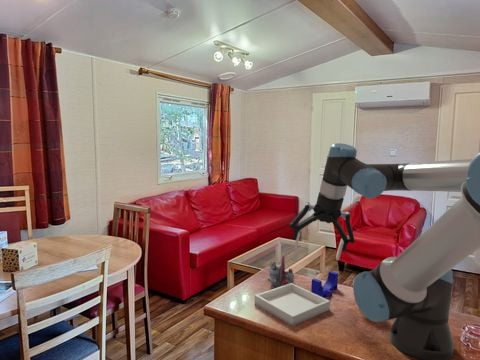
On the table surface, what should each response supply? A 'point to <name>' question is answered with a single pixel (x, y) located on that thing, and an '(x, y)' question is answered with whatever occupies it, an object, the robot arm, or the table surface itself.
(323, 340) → the table surface
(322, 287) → the blue curved block
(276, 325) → the table surface
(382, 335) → the table surface
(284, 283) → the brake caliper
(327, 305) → the kit tray
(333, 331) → the table surface
